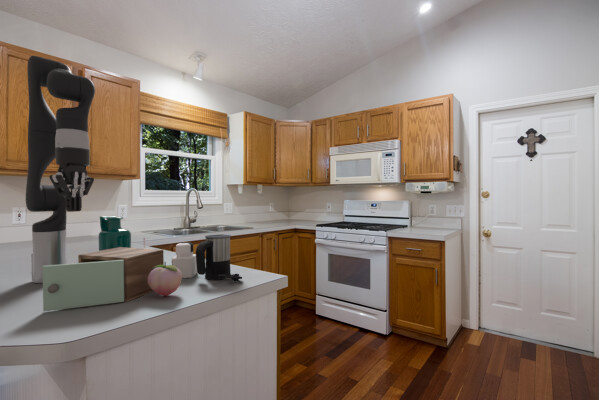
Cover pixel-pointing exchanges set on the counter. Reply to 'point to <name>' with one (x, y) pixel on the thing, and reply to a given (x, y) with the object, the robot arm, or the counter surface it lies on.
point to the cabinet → (130, 266)
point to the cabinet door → (82, 284)
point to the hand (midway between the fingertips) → (73, 211)
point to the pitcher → (113, 233)
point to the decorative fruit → (164, 279)
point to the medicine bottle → (185, 259)
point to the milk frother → (215, 258)
